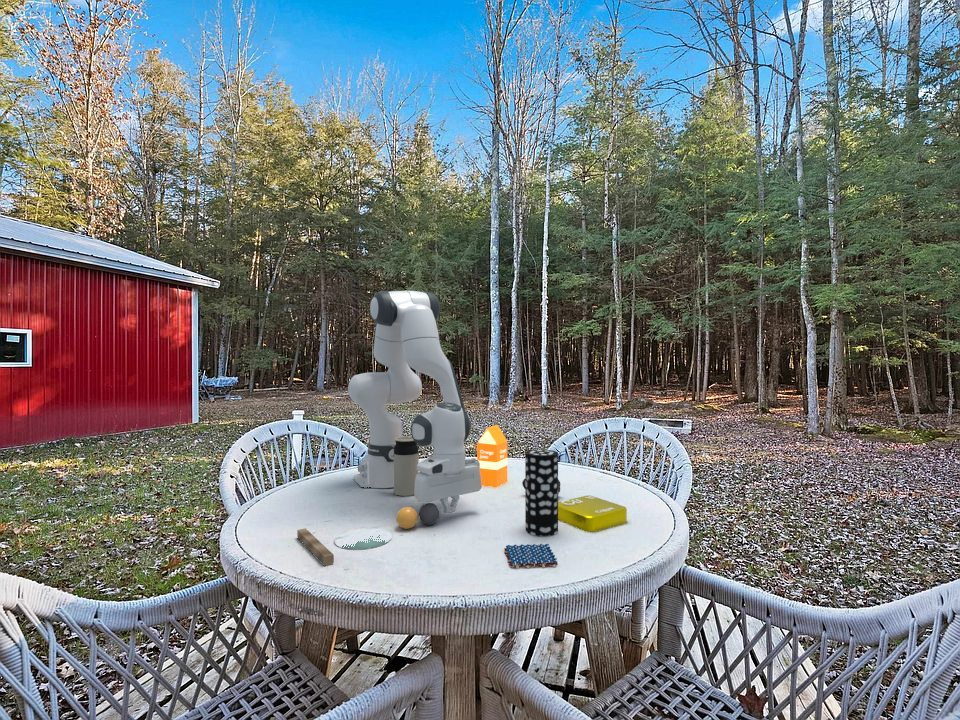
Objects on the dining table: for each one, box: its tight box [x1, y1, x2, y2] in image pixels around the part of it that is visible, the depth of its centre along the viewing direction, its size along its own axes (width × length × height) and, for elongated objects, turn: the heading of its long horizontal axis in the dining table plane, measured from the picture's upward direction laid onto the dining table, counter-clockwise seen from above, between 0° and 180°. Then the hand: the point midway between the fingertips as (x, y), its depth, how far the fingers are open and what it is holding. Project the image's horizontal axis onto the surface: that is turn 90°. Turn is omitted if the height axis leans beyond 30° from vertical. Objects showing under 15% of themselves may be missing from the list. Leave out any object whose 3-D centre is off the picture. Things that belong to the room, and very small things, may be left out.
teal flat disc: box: [341, 535, 388, 550], centre depth 121 cm, size 14×14×1 cm
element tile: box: [558, 495, 628, 533], centre depth 134 cm, size 15×15×5 cm
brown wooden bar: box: [296, 528, 335, 567], centre depth 114 cm, size 20×2×2 cm, turn 36°
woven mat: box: [503, 543, 558, 570], centre depth 109 cm, size 10×11×2 cm
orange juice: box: [476, 424, 508, 488], centre depth 172 cm, size 8×9×20 cm
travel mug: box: [393, 435, 420, 497], centre depth 160 cm, size 8×8×18 cm
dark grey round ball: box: [418, 502, 440, 526], centre depth 131 cm, size 6×6×6 cm
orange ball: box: [396, 506, 419, 530], centre depth 128 cm, size 6×6×6 cm
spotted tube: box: [524, 448, 559, 537], centre depth 126 cm, size 8×8×20 cm
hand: (449, 512), depth 136 cm, fingers closed
